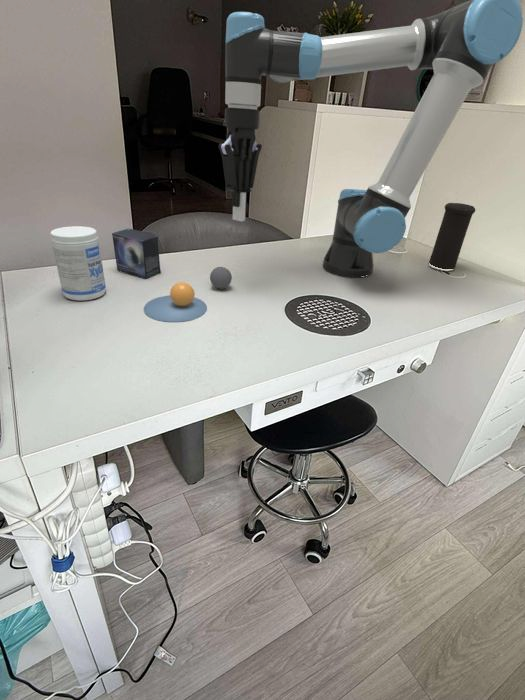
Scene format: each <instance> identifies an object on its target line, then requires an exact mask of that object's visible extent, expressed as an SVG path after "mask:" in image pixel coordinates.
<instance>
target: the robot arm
mask: <svg viewBox="0 0 525 700" xmlns="http://www.w3.org/2000/svg"><path fill="white" fill-rule="evenodd" d="M522 12H523V8H522V5H521V2H520V0H467V1H465V2H462V3H460V4H458V5H455V6H453V7H450V8H449V9H447V10H445V11H442V12H440V13H437V14H434V15H431V16H428V17H424V18H416V19H415V20H414V21H413V22H412V23H411V25H406V26H405V25H403V26H398V27H397V26H395V27H388V28H382V29H375V30H366V31H360V32H359V31H358V32H352V33H344V34H343V33H342V34H336V35H328V36H319V35H317V34H311V33H308V32H294V31H283V30H282V31H281V30H279V31H278V30H271V29H268V28H266V25H265V18H264V17H263V16H262V15H261V14H259V13H253V12H249V11H234V12H232V13H230V14H229V15H228V17H226V18H227V19H226V29H225V30H226V31H225V48H224V49H225V50H224V51H225V58H224V60H225V61H224V63H225V71H224V72H225V73H224V74H225V79H224V80H225V91H224V93H225V94H224V95H225V99H224V102H225V105H227V107H226V108H225V109H224V126H225V128H227V134H226V140H225V141H224V143H219V144H218V150H219V152H220V155H221V161H222V168H223V176H224V177H223V178H224V182H225V189H226V190H228V191H229V192H231V193H232V197H231V199H232V200H231V201H232V202H231V205H232V220H234V221H238V222H244V221H246V208H247V207H246V206H247V198H248V196H247V195H248V194H247V193H251V192H252V189H253V188H254V183H255V177H256V173H257V167H258V161H259V155H260V153H261V151H262V144H261V143H257V141H256V132H255V131H256V130H258V129H259V127H260V115H261V114H260V110H258V107H260V106H261V98H262V97H261V96H262V95H261V94H262V91H261V90H262V76H265V77H270V79H272V80H273V81H274V82H275V83H277V84H287V83H289V82H294V81H295V82H296V81H304V80H315V79H316V78H323V77H330V76H338V75H346V74H356V73H361V72H362V73H363V72H369V71H378V70H383V69H384V70H385V69H392V68H394V69H395V68H401V67H407V68H408V69H409V70H410V71H417V70H433V75H432V77H431V79H430V81H429V83H428V84H427V86H426V87H427V88H426V89H425V91H424V92H423V95H422V97H421V99H420V101H419V102H418V104H417V107H416V108H415V111H414V112H413V115H412V116H411V118H410V120H409V121H408V124H407V125H406V127H405V129H404V132H403V133H402V135H401V137H400V139H399V141H398V143H397V144H396V147H395V148H394V150H393V152H392V154H391V157H390V158H389V160H388V162H387V164H386V166H385V168H384V170H383V171H382V174H381V176H380V177H379V179H378V181H377V182H376V183H374V184H372V185H369V186H368V187H367V189H358V188H357V189H356V188H355V189H354V188H344V189H342V190H341V191H340V194H339V198H338V200H337V209H336V217H335V222H334V229H333V236H332V241H331V243H330V246H328V247H329V248H328V250H327V252H326V254H325V256H324V258H323V261H322V268H323V269H324V270H325V271H326V272H328V273H330V274H333V275H337V276H341V277H345V278H362V277H361V276H366V275H369V274H371V273H372V274H373V270H374V257H373V254H383V253H386V252H389V251H390V250H392V249H394V248H395V247H397V245H398V244H399V243H400V242H401V241H402V240H403V239H404V236H405V233H406V230H407V229H406V228H407V225H406V224H407V223H406V217H407V215H408V213H409V212H410V210H411V208H412V205H411V200H410V198H411V196H412V193H413V192H414V190H415V188H416V187H417V185H418V184H419V182H420V179H421V177H422V176H423V174H424V172H425V170H426V169H427V167H428V166H429V163H430V162H431V160H432V158H433V157H434V155H435V153H436V152H437V149H438V148H439V146H440V144H441V143H442V141H443V139H444V137H445V135H446V134H447V132H448V129H449V128H450V127H451V125H452V123H453V121H454V119H455V118H456V116H457V114H458V112H459V111H460V109H461V107H462V105H463V104H464V102H465V100H466V98H467V96H468V95H469V93H470V91H472V90H473V89H475V88H477V87H479V86H481V85H482V84H483V83H484V81H485V79H486V78H487V76H488V74H490V70H491V69H492V67H493V66H494V64H496V63H499V62H500V61H502V60H503V59H504V58H506V57H507V56H508V55H509V54H510V53H511V52H512V51H513V50H514V47H516V45H517V43H518V41H519V39H520V37H521V33H522V30H523V23H524V22H523V21H524V18H523V13H522ZM372 274H371V275H372ZM369 276H370V275H369ZM366 277H367V276H366Z"/></svg>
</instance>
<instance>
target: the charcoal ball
mask: <svg viewBox="0 0 525 700" xmlns="http://www.w3.org/2000/svg"><path fill="white" fill-rule="evenodd" d="M209 279H210V283H211V285H212V286H213V287H214V288H216V289H221V290H222V289H226V288H227V287H229V286H230V285H231V283H232V280H233V279H232V274H231V271H230V270H229V269H228V268H226V267H224V266H216V267H215V268H213V269H212V271H211V273H210V274H209Z"/></svg>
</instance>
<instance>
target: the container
mask: <svg viewBox="0 0 525 700" xmlns="http://www.w3.org/2000/svg"><path fill="white" fill-rule="evenodd" d="M475 212H476V208H475V206H473V205H471V204H465V203H461V202H448V203H446V204H445V205H444V214H443V217H442V220H441V224H440V227H439V230H438V233H437V236H436V239H435V243H434V245H433V249H432V251H431V255H430V257H429V261H428V264H429V263H430V264H431V265H433V266H435V267H438V268H442V269H454V268H455V269H456V266H457V264H458V263H457V262H458V261H459V256H460V253H461V251H462V246H463V243H464V241H465V238H466V235H467V232H468V228H469V226H470V223H471V219H472V217H473V215H474V213H475ZM455 269H454V270H455Z"/></svg>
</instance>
